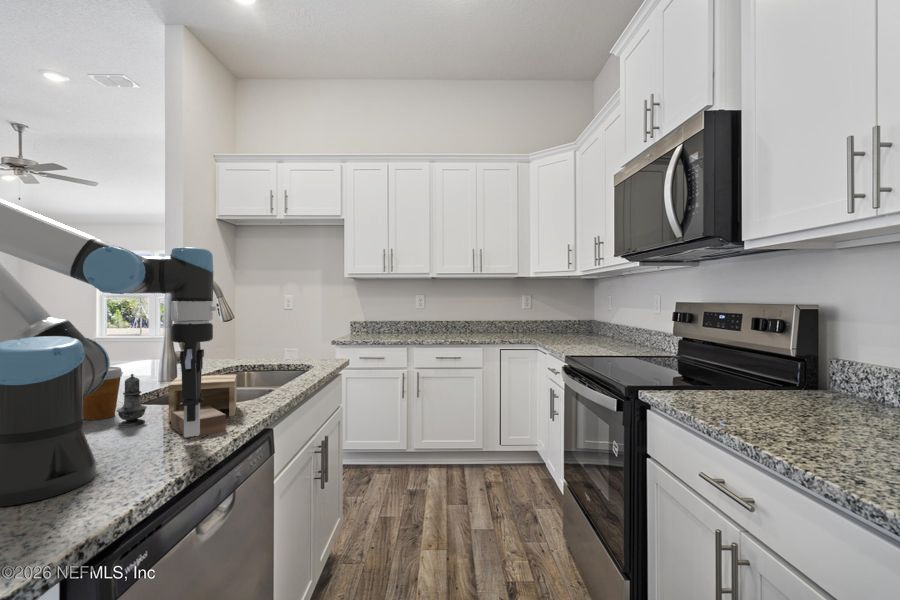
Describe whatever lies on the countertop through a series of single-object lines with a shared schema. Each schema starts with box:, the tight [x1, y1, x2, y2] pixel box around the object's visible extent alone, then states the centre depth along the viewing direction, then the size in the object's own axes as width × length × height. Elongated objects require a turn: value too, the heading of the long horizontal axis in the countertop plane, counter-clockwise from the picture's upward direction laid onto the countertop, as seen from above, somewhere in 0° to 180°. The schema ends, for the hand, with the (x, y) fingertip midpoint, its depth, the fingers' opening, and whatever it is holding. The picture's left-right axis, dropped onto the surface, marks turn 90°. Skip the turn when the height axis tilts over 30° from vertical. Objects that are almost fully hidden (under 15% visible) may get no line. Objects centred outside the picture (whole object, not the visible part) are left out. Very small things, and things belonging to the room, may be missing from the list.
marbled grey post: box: [116, 373, 148, 427], centre depth 105 cm, size 6×6×12 cm
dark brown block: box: [170, 405, 227, 439], centre depth 101 cm, size 12×8×4 cm, turn 46°
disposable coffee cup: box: [83, 366, 124, 421], centre depth 110 cm, size 10×10×12 cm
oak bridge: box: [168, 373, 238, 423], centre depth 114 cm, size 11×14×9 cm
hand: (191, 435), depth 91 cm, fingers closed
